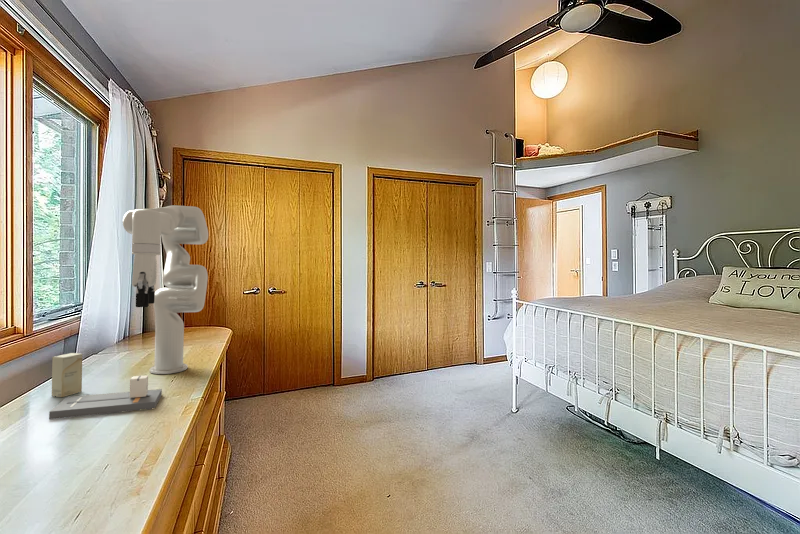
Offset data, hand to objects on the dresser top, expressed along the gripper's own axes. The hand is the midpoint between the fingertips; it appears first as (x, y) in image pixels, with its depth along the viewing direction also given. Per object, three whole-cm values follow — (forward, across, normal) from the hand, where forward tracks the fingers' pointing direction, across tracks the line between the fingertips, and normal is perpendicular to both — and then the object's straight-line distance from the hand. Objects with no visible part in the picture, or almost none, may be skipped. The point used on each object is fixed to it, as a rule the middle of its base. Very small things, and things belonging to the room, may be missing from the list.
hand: (145, 305), depth 125 cm
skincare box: (+28, -9, -22) cm, 37 cm away
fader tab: (+26, +7, 0) cm, 27 cm away
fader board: (+28, +7, -7) cm, 30 cm away
